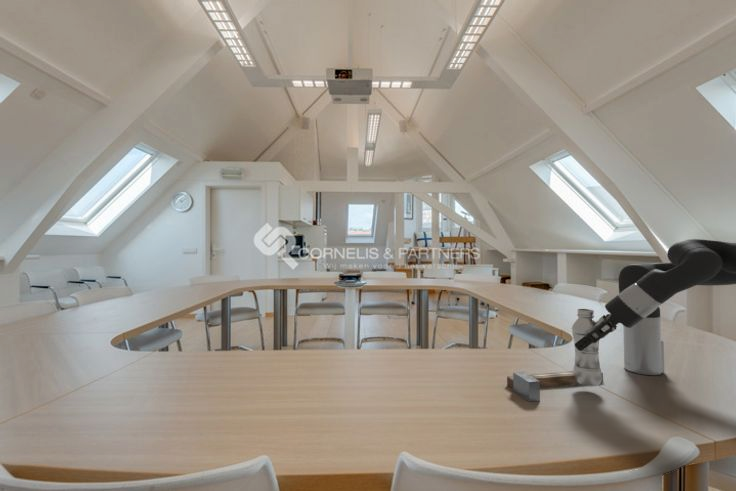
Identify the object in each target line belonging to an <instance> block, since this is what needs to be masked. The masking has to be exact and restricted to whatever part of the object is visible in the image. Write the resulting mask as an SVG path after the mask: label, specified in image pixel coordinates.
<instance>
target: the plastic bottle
mask: <svg viewBox="0 0 736 491" xmlns="http://www.w3.org/2000/svg"><path fill="white" fill-rule="evenodd" d="M594 312H595V311H594V309H591V308H577V313H576V316H577V317H578V318H577V319H576V320H575V321H574V322H573V324H572V326H571V332H572V338H573V345H574V344H575V343H576V342H578V341H579V340H580V339H582V338H583V337H584V336H585V334H587V333H589V332H590V331H591V327H593V326H594V325H595V324H596V322H597V321H595V320H594V317H595V314H594ZM591 335H592V336H593V337H594V338H596V337H597V335H596V334H595V333H593V334H591ZM599 346H600V340H598V341H597V342H596V343H592V344H590V345H589V346H588V347H586V348H585V349H583V350H582V351H579V350H578V349H577V348H576V347H575V346H574V365H573V369H572V370H573V375H574V379H575V380H576V381H577V382H578V383H580V384H581V385H583V386H589V387H596V386H600V385H601V383H602V373H603V372H602V368H601V366H600V357H599V350H600V349H599ZM580 384H579V385H580Z"/></svg>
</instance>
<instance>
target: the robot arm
mask: <svg viewBox="0 0 736 491" xmlns="http://www.w3.org/2000/svg"><path fill="white" fill-rule="evenodd" d="M667 259H668V260H669V261H667V262H653V263H652V262H651V263H650V262H649V263H646V262H644V263H641V262H640V263H631V264H628V265H626V266H623V267H622V269H621V270H620V272H619V274H618V294H617V295H616V296H614V297H613V298H612V299H611V300H609V301H608V302H607V303H606V304H605V305H604V307H605V310H606V311H607V312H608V313H607V314H605V315H604V314H603V315H602V316H601V317H600V318H599V319H598V320H597V321H595V322H596V324H595V325H594V326H593V327H591V331H590V332H589V333H587V334H585V336H584V337H583V338H582V339H580V340H579V341H578V342H576V343H575V344H574V343H573V345H574V348H575V347H576V348H577V349H578V350H579V351H582V350H583V349H585V348H586V347H588V346H589V345H590V344H592V343H596V342H597V341H598V340H599V341H600V340H602V339H604V338H605V337H606V336H608V335H609V334H610V333H613V332H614V331H616V330H617V327H618V326H617V325H618V324H621V325H622V327H623V328H622V329H623V330H622V331H623V332H622V333H623V364H624V365H623V367H624V369H625V370H627V371H629V372H631V373H636V374H639V375H645V376H660V375H662V373H665V346H664V345H665V342H664V341H663V340H662V338H661V337H662V335H661V334H662V333H661V330H662V329H661V309H660V306H661V305H662V304H664V303H666V302H667V301H668V300H669V299H671V298H673V296H675V295H676V294H678V293H680V292H683V291H686V290H688V289H690V288H693V287H695V286H710V287H711V286H730V285H731V286H732V285H736V242H729V241H727V242H726V241H721V240H709V239H698V238H691V239H684V240H679V241H677V242H675V243H673V244H672V245H671V246H670V247H669V248H668V250H667ZM593 333H595V334H596V335H597V337H596V338H594V337H593V336H592V335H591V334H593Z"/></svg>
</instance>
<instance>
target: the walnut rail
mask: <svg viewBox="0 0 736 491" xmlns="http://www.w3.org/2000/svg"><path fill="white" fill-rule="evenodd" d="M529 375H530V376H532V377H533V378H535V379H537V380H539V381H540V388H542V387H543V388H545V387H546V388H547V387H555V386H570V385H580V383H578V382H577V381H576V380H575V379H574V375H573V371H570V370H569V371H560V372H559V371H558V372H545V373H534V374H532V373H531V374H529ZM602 382H604V373H603V372H602ZM602 382H601V383H602ZM506 385H507V386H508V387H509V388H511V389H512V390H514V388H513V375H509V376H506Z"/></svg>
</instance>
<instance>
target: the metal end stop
mask: <svg viewBox="0 0 736 491" xmlns="http://www.w3.org/2000/svg"><path fill="white" fill-rule="evenodd" d="M530 375H531V374H528V373H526V372H525V371H515V372H513V373H512V376H513V388H514V389H513V392H515V393H516V394H517V395H518V396H520V397H521V398H523V399H524V400H526V401H527V402H529V403H531V402H541V390H540V389H541V387H540V381H539V380H537V379H535V378H533V377H532V376H530Z"/></svg>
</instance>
